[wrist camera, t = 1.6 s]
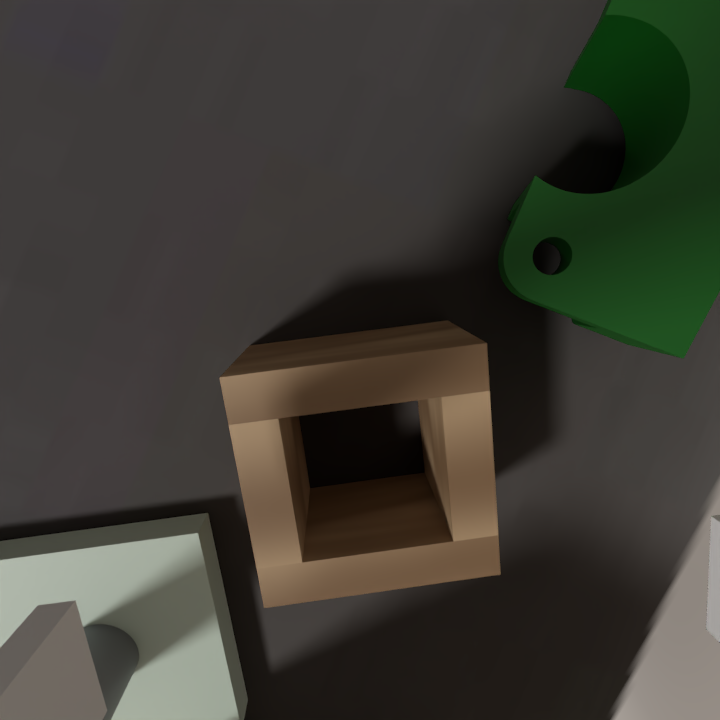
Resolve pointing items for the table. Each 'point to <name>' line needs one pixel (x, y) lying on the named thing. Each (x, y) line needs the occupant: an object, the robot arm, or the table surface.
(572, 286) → the clamp
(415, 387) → the collar
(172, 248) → the table surface
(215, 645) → the sage green base plate
